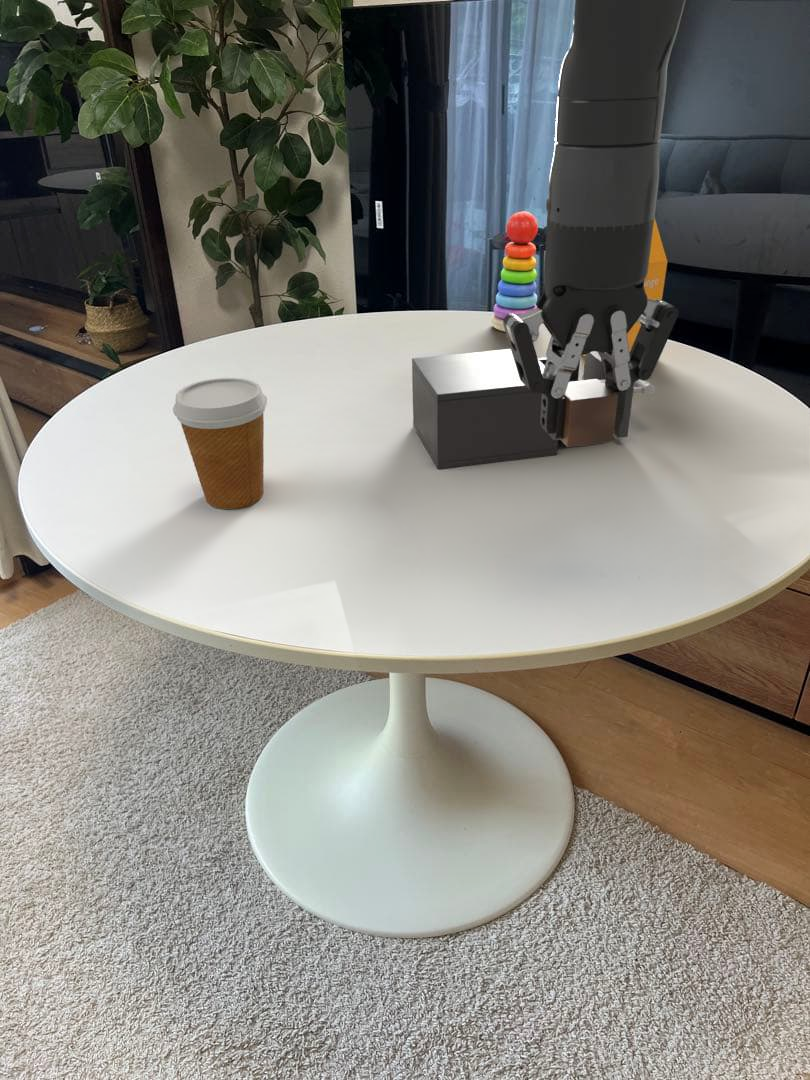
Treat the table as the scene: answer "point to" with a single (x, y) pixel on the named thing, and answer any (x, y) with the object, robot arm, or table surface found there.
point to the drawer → (595, 371)
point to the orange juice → (652, 278)
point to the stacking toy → (517, 270)
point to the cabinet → (476, 410)
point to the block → (589, 413)
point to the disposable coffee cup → (225, 438)
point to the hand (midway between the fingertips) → (580, 431)
